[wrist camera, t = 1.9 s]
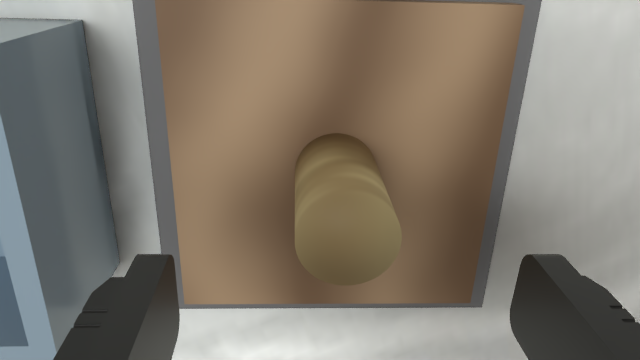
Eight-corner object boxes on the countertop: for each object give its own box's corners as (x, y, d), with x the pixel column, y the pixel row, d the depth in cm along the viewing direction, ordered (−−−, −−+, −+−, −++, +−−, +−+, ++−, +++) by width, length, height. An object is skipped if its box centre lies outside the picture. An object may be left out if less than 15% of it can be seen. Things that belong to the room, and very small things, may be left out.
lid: (513, 2, 17) (613, 22, 12) (463, 288, 22) (518, 397, 17) (161, -8, 17) (96, 9, 11) (189, 289, 22) (152, 402, 16)
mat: (539, -28, 18) (547, -28, 17) (477, 299, 23) (481, 307, 23) (133, -41, 17) (127, -41, 16) (171, 300, 22) (167, 308, 22)
